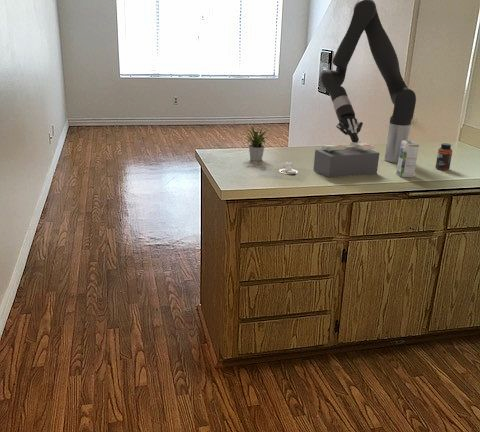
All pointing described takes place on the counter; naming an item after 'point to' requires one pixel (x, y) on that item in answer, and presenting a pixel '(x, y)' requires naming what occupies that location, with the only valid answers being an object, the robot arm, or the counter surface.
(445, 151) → the supplement bottle
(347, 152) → the switch box
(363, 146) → the white flat box
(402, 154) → the syrup box
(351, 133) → the robot arm
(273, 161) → the counter surface
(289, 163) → the teacup and saucer
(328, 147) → the sage rocker
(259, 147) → the house plant
